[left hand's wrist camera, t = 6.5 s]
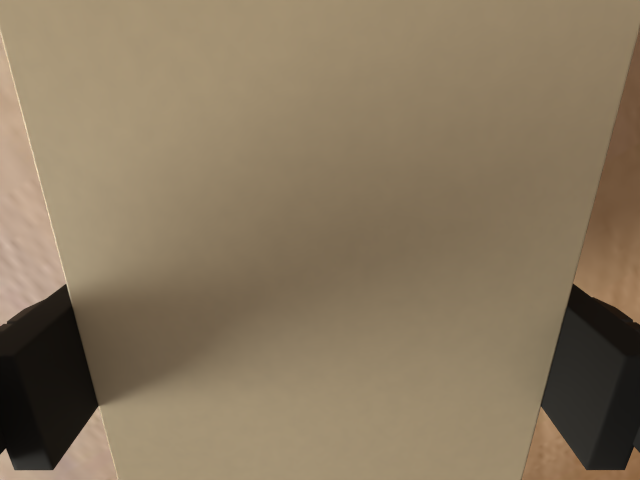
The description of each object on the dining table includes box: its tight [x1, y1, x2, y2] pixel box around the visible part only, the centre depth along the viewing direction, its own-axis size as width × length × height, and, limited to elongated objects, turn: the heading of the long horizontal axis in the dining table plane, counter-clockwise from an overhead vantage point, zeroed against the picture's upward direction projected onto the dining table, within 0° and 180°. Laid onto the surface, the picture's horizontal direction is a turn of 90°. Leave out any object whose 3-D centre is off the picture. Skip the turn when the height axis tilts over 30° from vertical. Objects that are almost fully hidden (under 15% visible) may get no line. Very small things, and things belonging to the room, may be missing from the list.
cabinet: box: [0, 0, 640, 480], centre depth 11 cm, size 21×10×10 cm, turn 0°
